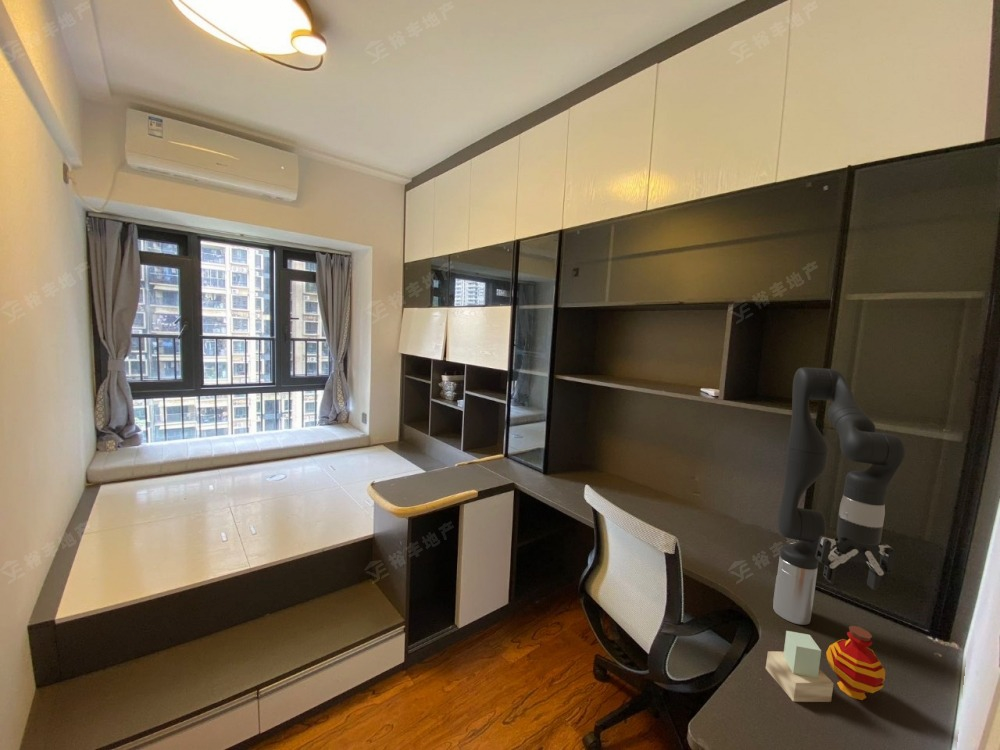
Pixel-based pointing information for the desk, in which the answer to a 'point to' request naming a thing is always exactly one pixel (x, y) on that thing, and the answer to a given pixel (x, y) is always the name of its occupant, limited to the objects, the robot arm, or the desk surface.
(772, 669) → the beech base
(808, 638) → the green block
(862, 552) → the robot arm
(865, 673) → the potion bottle
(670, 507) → the desk surface
